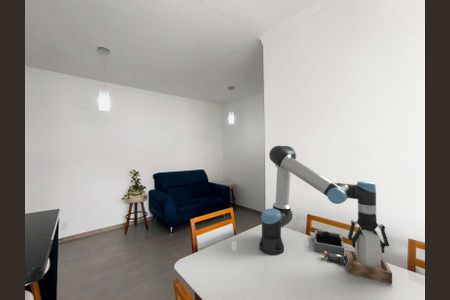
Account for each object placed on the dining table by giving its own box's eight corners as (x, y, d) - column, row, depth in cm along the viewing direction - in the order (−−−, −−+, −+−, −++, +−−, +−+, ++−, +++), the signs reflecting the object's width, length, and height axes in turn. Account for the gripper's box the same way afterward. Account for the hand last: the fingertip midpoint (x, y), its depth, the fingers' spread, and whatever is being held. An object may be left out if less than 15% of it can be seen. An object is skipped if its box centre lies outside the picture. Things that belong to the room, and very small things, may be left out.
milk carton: (381, 268, 91) (380, 229, 91) (366, 268, 91) (365, 229, 92) (370, 260, 98) (369, 224, 98) (356, 260, 98) (355, 224, 99)
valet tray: (314, 250, 114) (314, 242, 114) (315, 236, 132) (315, 229, 132) (344, 256, 107) (344, 248, 107) (341, 241, 125) (340, 233, 125)
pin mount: (327, 262, 102) (327, 255, 102) (327, 256, 108) (327, 250, 108) (345, 265, 99) (344, 259, 99) (343, 260, 104) (343, 253, 104)
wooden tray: (349, 273, 92) (348, 263, 92) (345, 258, 106) (345, 249, 106) (392, 284, 85) (392, 273, 85) (382, 265, 98) (382, 256, 98)
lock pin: (324, 258, 104) (324, 252, 104) (324, 255, 107) (324, 249, 107) (345, 263, 99) (345, 256, 100) (345, 260, 103) (344, 253, 103)
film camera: (339, 243, 122) (339, 229, 122) (342, 251, 113) (343, 236, 113) (313, 239, 127) (313, 226, 127) (315, 246, 118) (315, 232, 118)
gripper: (342, 211, 97) (343, 254, 97) (397, 217, 87) (398, 266, 87) (341, 207, 104) (341, 248, 103) (392, 212, 94) (393, 257, 93)
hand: (367, 256), depth 95 cm, fingers closed on milk carton, 9 cm apart
